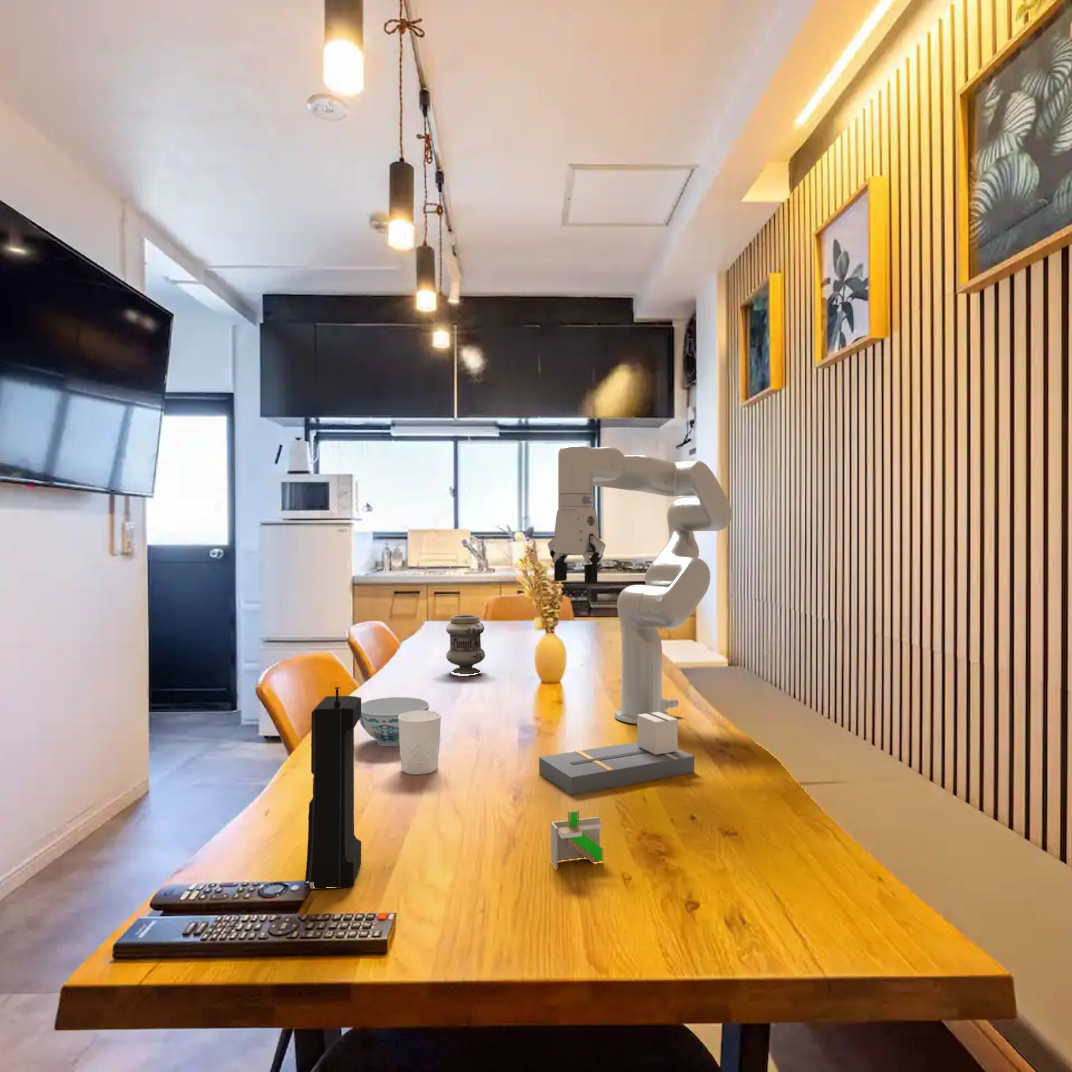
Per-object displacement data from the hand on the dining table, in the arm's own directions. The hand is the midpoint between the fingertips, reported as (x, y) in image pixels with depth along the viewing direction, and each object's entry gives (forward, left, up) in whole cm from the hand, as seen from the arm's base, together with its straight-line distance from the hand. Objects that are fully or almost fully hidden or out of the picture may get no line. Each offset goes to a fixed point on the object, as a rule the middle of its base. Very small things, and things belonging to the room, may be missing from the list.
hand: (575, 581), depth 155 cm
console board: (+5, +24, -33) cm, 42 cm away
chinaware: (+37, -13, -34) cm, 51 cm away
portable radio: (+59, +41, -34) cm, 79 cm away
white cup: (+37, +6, -34) cm, 50 cm away
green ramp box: (+29, +52, -34) cm, 69 cm away
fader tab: (-4, +24, -30) cm, 39 cm away
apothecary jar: (-2, -74, -34) cm, 81 cm away
